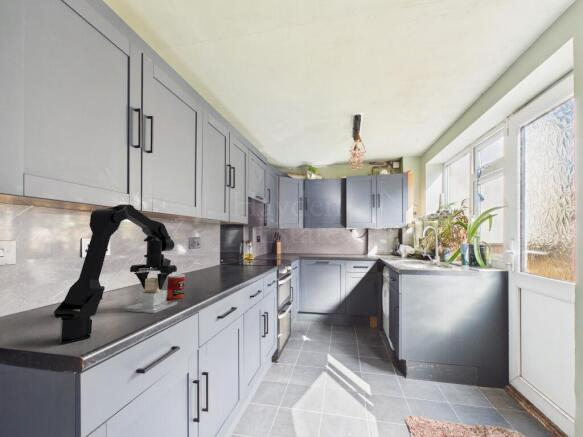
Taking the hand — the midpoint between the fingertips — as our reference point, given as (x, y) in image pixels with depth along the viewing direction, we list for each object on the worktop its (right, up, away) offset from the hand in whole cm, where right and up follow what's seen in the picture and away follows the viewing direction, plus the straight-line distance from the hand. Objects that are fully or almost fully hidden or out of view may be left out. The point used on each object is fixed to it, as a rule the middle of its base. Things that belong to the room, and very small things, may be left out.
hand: (152, 289), depth 109 cm
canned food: (+3, -9, +16) cm, 18 cm away
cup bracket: (0, -8, -1) cm, 8 cm away
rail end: (0, -5, 0) cm, 5 cm away
